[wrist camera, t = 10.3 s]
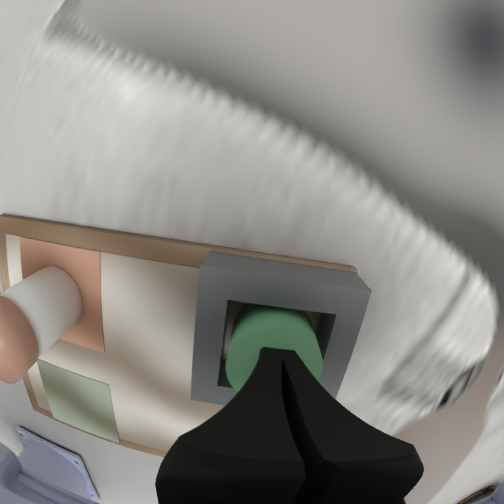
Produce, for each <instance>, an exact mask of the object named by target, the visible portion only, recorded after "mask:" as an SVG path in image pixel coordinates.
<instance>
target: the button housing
mask: <svg viewBox="0 0 504 504" xmlns="http://www.w3.org/2000/svg"><path fill="white" fill-rule="evenodd" d="M370 293H371V289H370V288H369V287H368V286H367V285H366V284H365V283H364V282H363V280H362V279H361V278H360V277H359V276H358V275H357V274H356V273H355V272H351V271H344V270H337V269H330V268H323V267H317V266H310V265H303V264H296V263H290V262H283V261H276V260H270V259H263V258H256V257H250V256H243V255H236V254H230V253H223V252H216V251H210V252H209V254H208V255H207V256H206V258H205V259H204V261H203V262H202V264H201V265H200V273H199V283H198V294H197V306H196V318H195V331H194V344H193V359H192V376H191V395H190V400H195V401H201V402H206V403H212V404H218V405H224V406H225V405H226V404H227V403H228V402H229V401H230V400H231V399H232V398H233V397H234V396H235V395H236V394H237V393H238V392H237V391H236V390H235V389H234V388H233V387H232V385H231V384H230V382H229V380H228V378H227V374H226V360H227V359H223V353H224V345H225V338H226V330H227V322H228V314H229V307H230V300H233V301H240V302H247V303H253V304H260V305H267V306H275V307H282V308H289V309H297V310H305V311H313V312H322V313H321V317H320V320H319V324H318V328H317V332H316V339H317V342H318V345H319V349H320V352H321V355H322V359H323V370H322V374H321V376H320V379H319V381H318V382H319V383H320V384H321V385H322V386H323V387H324V388H325V389H326V391H327V392H328V393H329V394H330V395H331V396H332V397H333V398H334V399H335V398H336V396H337V393H338V390H339V388H340V385H341V383H342V380H343V377H344V374H345V372H346V369H347V366H348V363H349V360H350V358H351V355H352V352H353V349H354V346H355V343H356V340H357V337H358V333H359V330H360V327H361V324H362V321H363V317H364V314H365V311H366V307H367V304H368V300H369V296H370Z"/></svg>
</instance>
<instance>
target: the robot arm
mask: <svg viewBox="0 0 504 504" xmlns="http://www.w3.org/2000/svg"><path fill="white" fill-rule="evenodd" d="M17 431H18V433H19V435H20V437H21V439H22V441H23V443H24V445H25V448H24V449H23V451H22V452H21V453H20V455H19V456H18V457H17V456H16V455H15V453H14V452H13V451H12V450H10V449H9V448H8V447H7V446H5V445H3V444H2V443H0V504H99V503H96V502H94V501H91V499H92V500H95V501H99V497H98V495H97V492H96V490H95V488H94V486H93V484H92V482H91V480H90V478H89V475H88V473H87V471H86V469H85V466H84V464H83V461H82V459H81V458H80V457H79V456H78V455H76V454H74V453H72V452H69V451H67V450H65V449H63V448H61V447H58V446H56V445H54V444H52V443H50V442H48V441H46V440H44V439H42V438H40V437H38V436H36V435H34V434H32V433H30V432H29V431H27V430H25V429H23V428H21V427H17ZM423 472H424V467H423V464H422V462H421V460H420V457H419V455H418V453H417V451H416V449H415V447H414V446H413V445H412V444H410V443H407V442H405V441H402V440H400V439H397V438H395V437H392V436H390V435H388V434H386V433H384V432H382V431H380V430H378V429H376V428H374V427H372V426H371V425H369V424H367V423H366V422H364V421H363V420H361V419H360V418H358V417H357V416H355V415H354V414H352V413H351V412H350V411H348V410H347V409H346V408H345V407H344V406H342V405H341V404H340V403H339V402H338V401H337V400H335V399H334V398H333V397H332V396H331V395H330V394H329V393H328V392H327V391H326V389H325V388H324V387H323V386H322V385H321V384H320V383H319V382H318V381H317V379H316V378H315V377H314V376H313V374H312V373H311V372H310V371H309V369H308V368H307V366H306V365H305V364H304V362H303V361H302V360H301V358H300V357H299V355H298V354H297V353H296V351H295V350H286V349H277V348H269V347H263V348H261V349H260V353H259V359H258V361H257V364H256V366H255V368H254V369H253V371H252V373H251V375H250V376H249V378H248V379H247V381H246V382H245V384H244V385H243V386H242V388H241V389H240V390H239V392H238V393H237V394H236V395H235V396H234V397H233V398H232V399H231V400H230V401H229V402H228V403H227V404H226V405H225V406H224V407H223V408H222V409H221V410H220V411H218V412H217V413H216V414H215V415H213V416H212V417H211V418H209V419H208V420H206V421H205V422H204V423H202V424H200V425H199V426H197V427H195V428H194V429H192V430H190V431H188V432H186V433H184V434H182V435H180V436H179V437H178V438H177V440H176V441H175V442H174V444H173V445H172V446H171V448H170V449H169V451H168V452H167V454H166V456H165V457H164V459H163V461H162V463H161V465H160V468H159V471H158V474H157V477H156V483H155V486H156V492H157V497H158V503H159V504H405V503H404V500H403V498H404V497H405V496H406V495H407V494H408V493H409V492H410V491H411V490H412V489H413V487H414V486H415V485H416V484H417V482H418V481H419V480H420V478H421V477H422V475H423ZM471 504H504V482H503V483H502V484H501V485H500V486H499V487H497V488H496V490H495V491H494V492H493V493H492V495H490V496H488V497H485V498H483V499H481V500H478V501H476V502H473V503H471Z"/></svg>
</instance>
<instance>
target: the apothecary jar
mask: <svg viewBox="0 0 504 504" xmlns="http://www.w3.org/2000/svg"><path fill="white" fill-rule="evenodd" d="M494 491H495V487H494V486H490V487H488V488H487V489H485V490H480V491H479V492H477V493H475V494H473V495H471V496H469V497H468V498H466V499H465V500H463V501H462V502H460V503H459V504H471V503H473V502H476V501H478V500H481V499H483V498H485V497H488V496H490V495H492V493H493V492H494Z"/></svg>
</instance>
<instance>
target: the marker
mask: <svg viewBox="0 0 504 504" xmlns="http://www.w3.org/2000/svg"><path fill="white" fill-rule="evenodd" d="M82 310H83V302H82V297H81V294H80V291H79V289H78V287H77V285H76V283H75V282H74V280H73V279H72V278H71V276H70V275H69V274H68V273H66V272H65V271H64V270H62V269H60V268H58V267H55V266H48V267H45V268H43V269H41V270H39V271H38V272H36V273H34V274H32V275H30V276H29V277H27V278H25V279H23V280H22V281H20V282H18V283H17V284H15V285H13V286H11V287H10V288H8V289H6V290H5V291H3V292H1V293H0V380H2V381H4V382H6V383H10V384H14V383H16V382H17V381H18V380H19V379H20V378H21V377H22V376H23V375H24V374H25V373H26V372H27V371H28V370H29V369H30V368H31V367H32V366H33V365H34V364H35V363H36V362H37V360H38V358H39V357H40V356H41V355H42V354H43V353H44V352H45V351H46V350H48V349H49V348H50V347H51V346H52V345H53V344H54V343H55V342H56V341H57V340H58V339H59V338H60V337H61V336H62V335H63V334H64V333H65V332H66V331H67V330H68V329H69V328H71V327H72V326H73V325H74V324H75V323H76V322H77V321H78V320H79V319H80V317H81V315H82Z"/></svg>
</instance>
